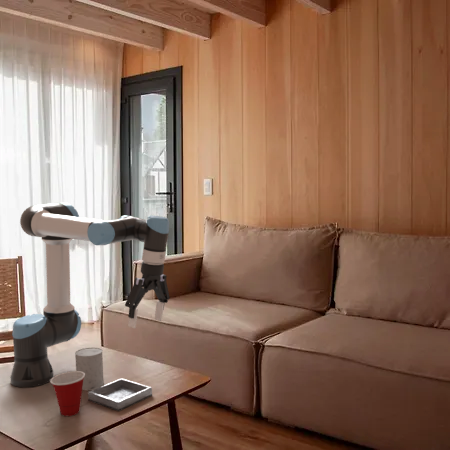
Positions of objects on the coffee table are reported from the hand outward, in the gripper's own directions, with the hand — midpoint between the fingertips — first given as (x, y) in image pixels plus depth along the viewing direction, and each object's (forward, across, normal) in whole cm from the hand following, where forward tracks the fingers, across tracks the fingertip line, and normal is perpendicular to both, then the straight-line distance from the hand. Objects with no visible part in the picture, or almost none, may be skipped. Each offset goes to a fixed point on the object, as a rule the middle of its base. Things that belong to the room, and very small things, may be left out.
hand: (145, 323), depth 192 cm
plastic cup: (+28, -22, +8) cm, 37 cm away
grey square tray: (+26, -5, +2) cm, 26 cm away
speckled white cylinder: (+28, -2, +20) cm, 35 cm away
